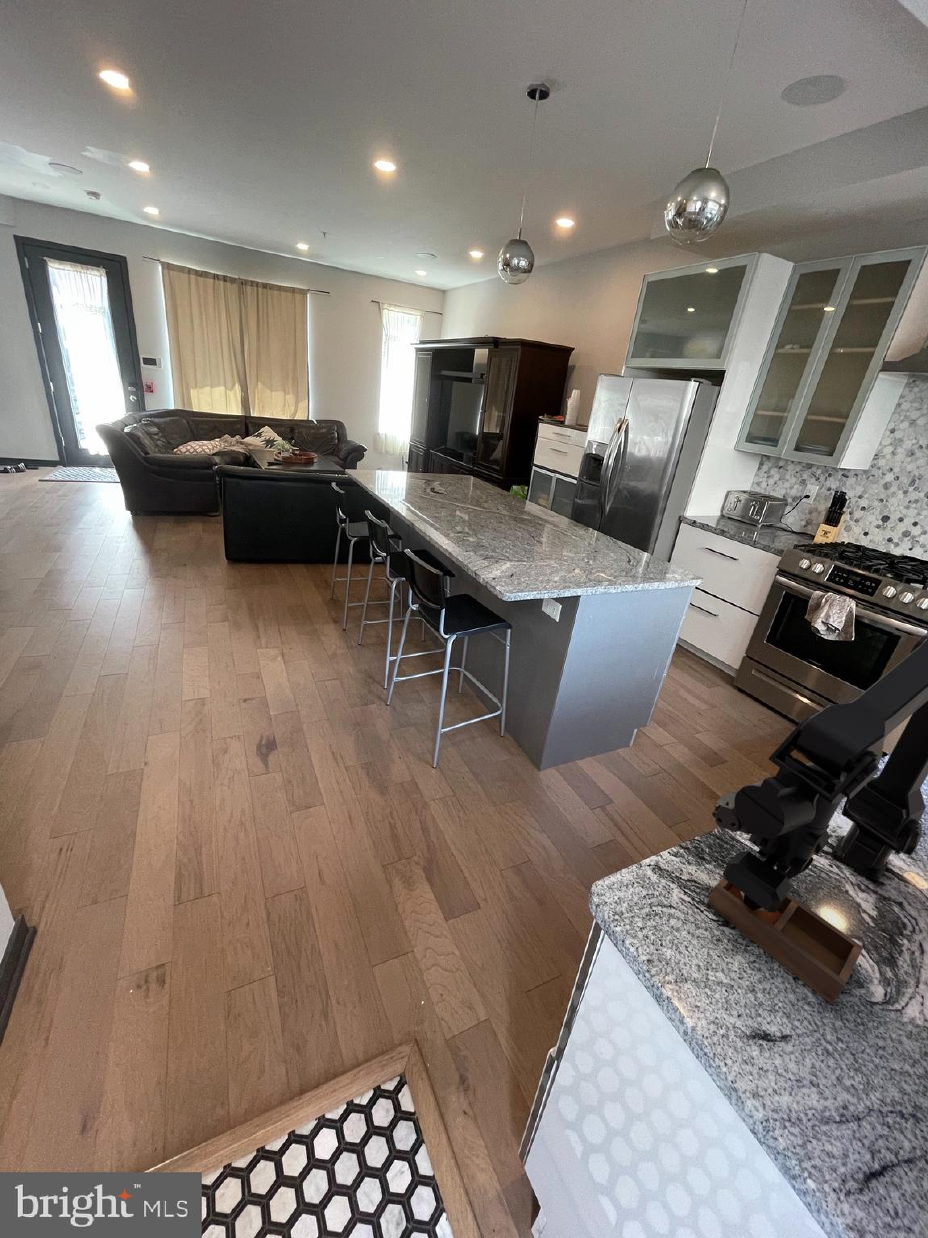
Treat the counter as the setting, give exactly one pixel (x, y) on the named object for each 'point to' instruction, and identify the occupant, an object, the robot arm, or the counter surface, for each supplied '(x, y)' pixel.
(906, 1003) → the counter surface
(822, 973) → the egg rack
